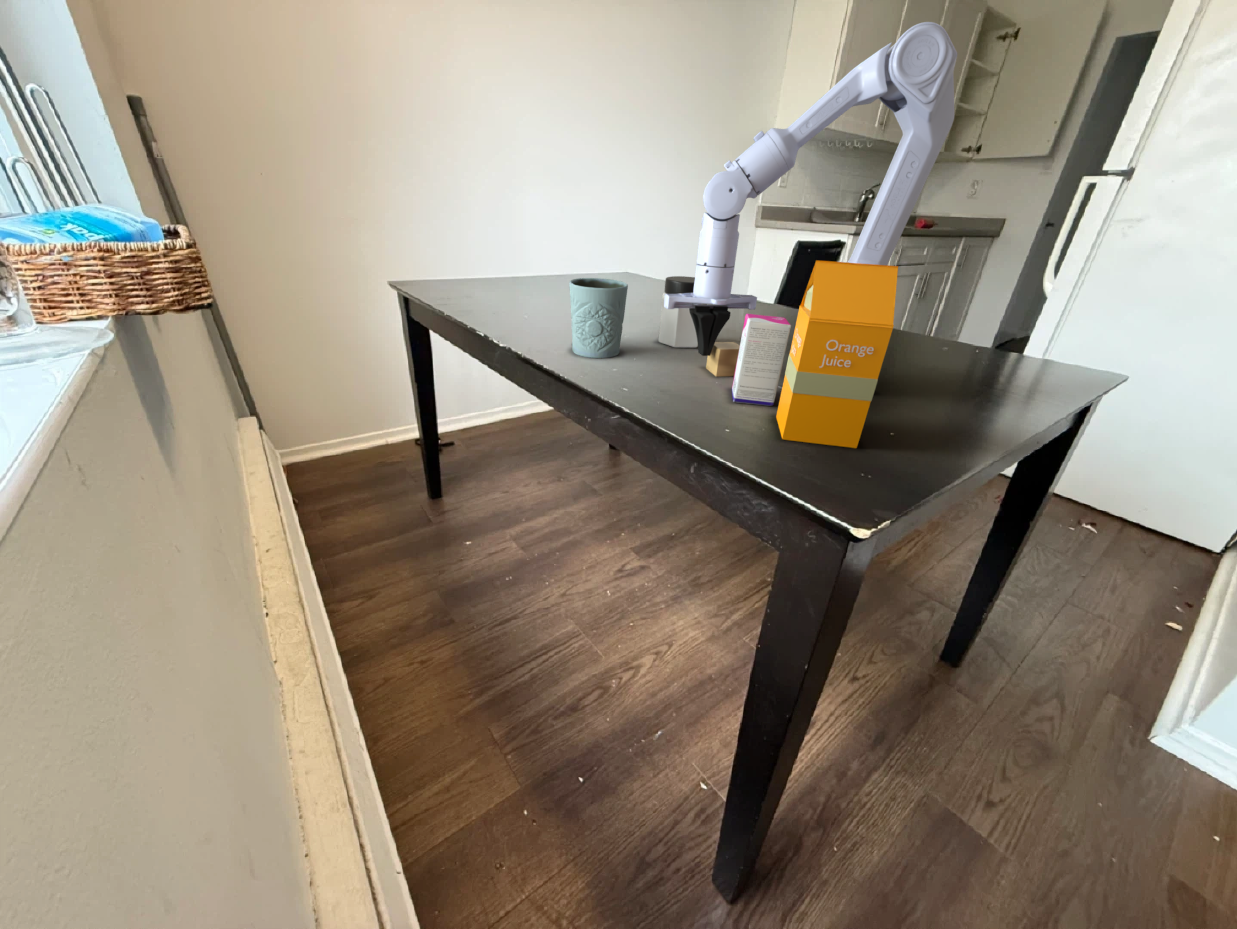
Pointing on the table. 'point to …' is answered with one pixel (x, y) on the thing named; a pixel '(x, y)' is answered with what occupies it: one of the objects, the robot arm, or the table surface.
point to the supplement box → (760, 359)
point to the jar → (677, 316)
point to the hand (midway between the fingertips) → (704, 354)
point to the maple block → (723, 359)
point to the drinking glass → (597, 316)
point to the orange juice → (837, 352)
